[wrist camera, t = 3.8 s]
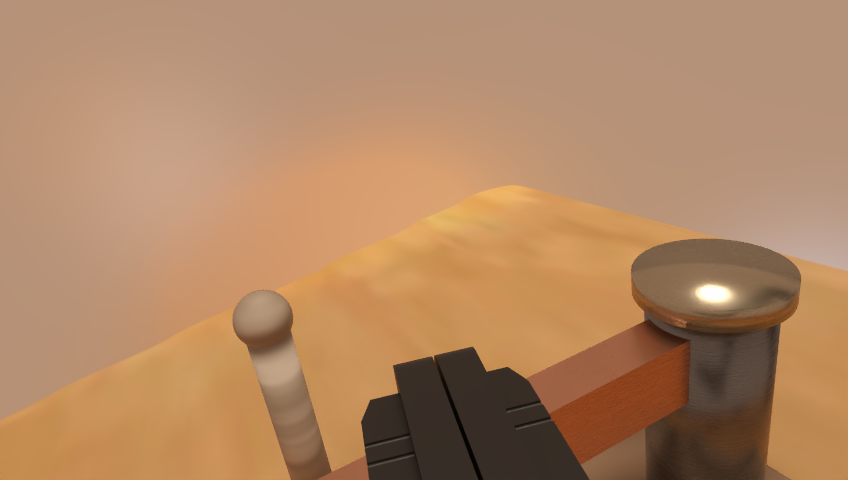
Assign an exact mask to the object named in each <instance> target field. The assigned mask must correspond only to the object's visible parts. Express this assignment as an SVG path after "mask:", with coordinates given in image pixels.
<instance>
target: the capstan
mask: <svg viewBox="0 0 848 480" xmlns="http://www.w3.org/2000/svg"><path fill="white" fill-rule="evenodd" d="M631 281H632V296H633V298H634V300H635V302H636V303H637V304H638V306H639V307H641V308H642V309H643V310H644V317H645V321H644V322H642V323H640V324H638V325H636V326H634V327H632V328H630V329H628V330H626V331H624V332H622V333H619V334H617V335H615V336H613V337H611V338H609V339H607V340H605V341H603V342H601V343H599V344H597V345H595V346H593V347H590V348H588V349H586V350H584V351H582V352H580V353H578V354H576V355H574V356H572V357H570V358H568V359H566V360H564V361H561V362H559V363H557V364H555V365H553V366H551V367H549V368H547V369H545V370H543V371H541V372H539V373H537V374H534V375H532V376H530V377H528V378H526V379H527V380H528V381H529V382H530V384H531V385H532V387H533V389H534V390H535V392H536V393H537V395H538V397H539V398H540V400H541V403H542V404H543V405H544V406H545V408H546V410H547V411H548V413H549V414H550V416H551V420H552V421H554V423H555V424H556V426H557V427H558V429H559V431H560V432H561V434H562V435H563V437H564V439H565V440H566V442H567V444H568V445H569V447H570V448H571V450H572V452H573V453H574V455H575V456H576V458H577V460H578V461H579V463H580V465H581V464H583V463H585V462H586V461H588V460H590V459H592V458H593V457H595V456H597V455H599V454H600V453H602V452H604V451H606V450H607V449H609V448H611V447H613V446H614V445H616V444H618V443H620V442H621V441H623V440H625V439H627V438H628V437H630V436H632V435H634V434H635V433H637V432H639V431H641V430H642V429H644V428H645V458H646V480H765V473H766V463H767V453H768V443H769V433H770V423H771V413H772V404H773V394H774V384H775V374H776V364H777V354H778V344H779V334H780V324H781V323H782V322H784V321H785V320H787V319H788V318H790V317H791V316H792V315H793V314H794V312H795V311H796V309H797V307H798V303H799V294H800V285H801V274H800V272H799V270H798V268H797V267H796V266H795V265H794V264H793V263H792V262H791V261H790V260H789V259H787V258H786V257H784V256H782V255H780V254H779V253H776V252H774V251H772V250H769V249H767V248H764V247H761V246H757V245H753V244H749V243H744V242H739V241H732V240H723V239H689V240H680V241H674V242H669V243H665V244H662V245H658V246H656V247H653V248H651V249H649V250H646V251H645V252H643V253H642V254H640V255H639V256H638V257H637V258H636V259H635V260H634V262H633V264H632V268H631ZM317 480H369V475H368V466H367V461H366V456H365V457H362V458H360V459H358V460H356V461H354V462H352V463H350V464H348V465H346V466H344V467H342V468H340V469H338V470H335V471H333V472H331V473H329V474H327V475H325V476H323V477H321V478H319V479H317Z"/></svg>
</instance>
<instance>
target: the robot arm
mask: <svg viewBox="0 0 848 480" xmlns="http://www.w3.org/2000/svg"><path fill="white" fill-rule="evenodd" d="M434 362H435V363H434ZM393 368H394V373H395V379H396V384H397V389H398V394H393V395H389V396H385V397H381V398H377V399H373V400H370V402H369V405H368V407H367V409H366V412H365V414H364V416H363V419H362V421H361V424H362V431H363V438H364V445H365V453H366V461H367V466H368V475H369V480H590V479H589V478H588V476H587V474H586V473H585V471H584V469H583V468H582V466H581V465H580V463H579V461H578V460H577V458H576V456H575V455H574V453H573V452H572V450H571V448H570V447H569V445H568V444H567V442H566V440H565V439H564V437H563V435H562V434H561V432H560V431H559V429H558V427H557V426H556V424H555V423H554V421H552V420H551V416H550V414H549V413H548V411H547V410H546V408H545V406H544V405H543V404H542V403H541V400H540V398H539V397H538V395H537V393H536V392H535V390H534V389H533V387H532V385H531V384H530V382H529V381H528V380H527V379H525V378H524V377H522V376H521V375H519V374H518V373H516V372H515V371H513V370H511V369H510V368H508V367H505V368H501V369H497V370H493V371H488V372H486V370H485V368H484V366H483V364H482V362H481V360H480V358H479V356H478V354H477V352H476V350H475V349H474V347H469V348H465V349H460V350H456V351H452V352H448V353H443V354H439V355H435V356H434V360H433V358H432V356H431V357H427V358H423V359H418V360H414V361H410V362H406V363H401V364H397V365H393Z"/></svg>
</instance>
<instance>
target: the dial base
mask: <svg viewBox="0 0 848 480" xmlns="http://www.w3.org/2000/svg"><path fill="white" fill-rule="evenodd" d="M292 324H293V313H292V309H291V307H290V305H289V303H288V301H287V300H286V299H285V298H284V297H283V296H281V295H280V294H278V293H276V292H274V291H270V290H258V291H254V292H252V293H249V294H247V295H246V296H245V297H243V298H242V299H241V300H240V301H239V303H238V304H237V306H236V308H235V310H234V313H233V327H234V330H235V333H236V335H237V336H238V338H239V339H240V340H241V341H242V342H244V343H245V344H247V347H248V350H249V353H250V356H251V359H252V362H253V365H254V368H255V371H256V374H257V377H258V381H259V384H260V387H261V390H262V393H263V396H264V399H265V402H266V405H267V408H268V411H269V414H270V417H271V420H272V423H273V426H274V429H275V432H276V435H277V438H278V441H279V444H280V447H281V451H282V454H283V457H284V460H285V463H286V466H287V469H288V472H289V475H290V478H291V480H317V479H319V478H321V477H323V476H325V475H327V474H329V473H331V468H330V465H329V461H328V458H327V454H326V451H325V447H324V444H323V440H322V437H321V434H320V430H319V427H318V423H317V420H316V416H315V413H314V409H313V406H312V402H311V399H310V396H309V392H308V389H307V385H306V382H305V378H304V375H303V371H302V368H301V365H300V361H299V358H298V354H297V351H296V347H295V344H294V340H293V337H292V333H291V327H292ZM581 466H582V468H583V469H584V471H585V473H586V474H587V476H588V478H589V479H590V480H646V458H645V428H644V429H642V430H641V431H639V432H637V433H635V434H634V435H632V436H630V437H628V438H627V439H625V440H623V441H621V442H620V443H618V444H616V445H614V446H613V447H611V448H609V449H607V450H606V451H604V452H602V453H600V454H599V455H597V456H595V457H593V458H592V459H590V460H588V461H586V462H585V463H583V464H581ZM765 480H791V479H789V478H787V477H786V476H784V475H782V474H781V473H779V472H778V471H776V470H774V469H773V468H771V467H769V466H768V465H766V473H765Z"/></svg>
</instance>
